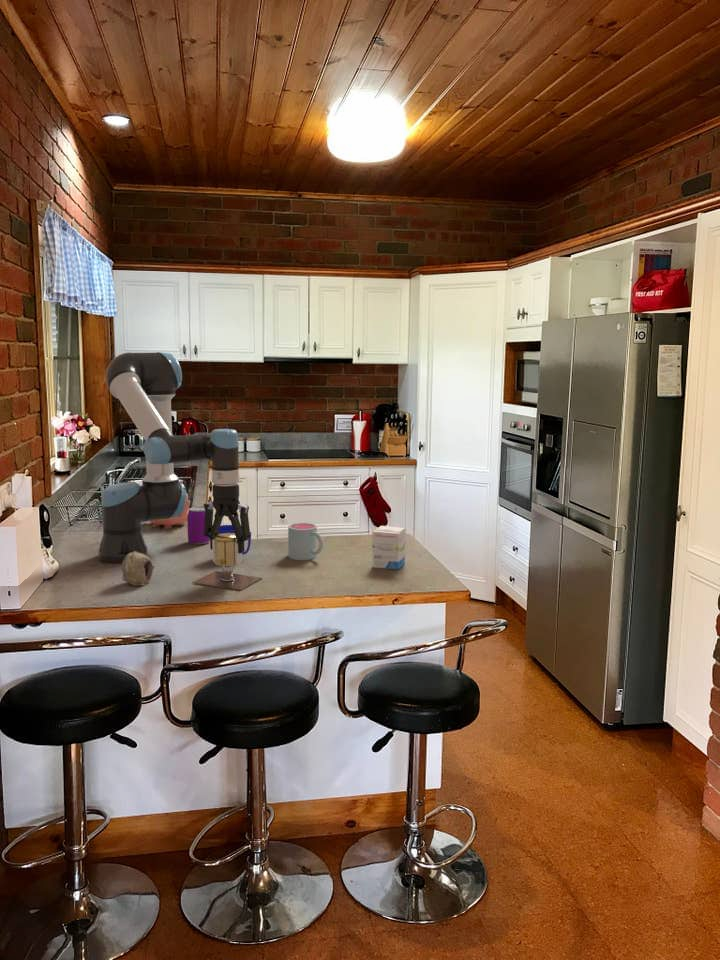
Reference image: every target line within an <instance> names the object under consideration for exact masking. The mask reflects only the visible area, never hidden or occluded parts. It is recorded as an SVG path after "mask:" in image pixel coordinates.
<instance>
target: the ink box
mask: <svg viewBox="0 0 720 960" xmlns="http://www.w3.org/2000/svg"><path fill="white" fill-rule="evenodd" d="M371 534H372V539H371V540H372V548H371V549H372V561H371V562H372V563H371V564H372V565H371V566H372V568H373V569H374V568H376V569H377V568H378V569H388V570H395V571H396V570H399V569H401V567H403V566H404V565H405V563H406V562H405V561H406V528H405V527H397V526H388V525H380V526H379V527H377V528H376V529H374V530H373V531H372V533H371Z"/></svg>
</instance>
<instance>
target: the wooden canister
mask: <svg viewBox="0 0 720 960" xmlns="http://www.w3.org/2000/svg"><path fill="white" fill-rule="evenodd" d="M236 541H237V539H236V536H235V534H234V533H223V534H218V535H215V539H214V545H215V562H214V564H215V565H216V566H220V567H222V566H236V565H235V542H236Z"/></svg>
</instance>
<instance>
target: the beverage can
mask: <svg viewBox="0 0 720 960" xmlns="http://www.w3.org/2000/svg"><path fill="white" fill-rule="evenodd" d="M186 522H187V542H189V543H190V545H194V546H195V545H196V546H199V545H201V544H203V545H206V544H205V543H207V544H209V543H210V538H209V537H207V536H206V537H205V536H204V522H205V508H204V506H194V507H189V512H188V515H187V521H186ZM201 546H202V545H201Z"/></svg>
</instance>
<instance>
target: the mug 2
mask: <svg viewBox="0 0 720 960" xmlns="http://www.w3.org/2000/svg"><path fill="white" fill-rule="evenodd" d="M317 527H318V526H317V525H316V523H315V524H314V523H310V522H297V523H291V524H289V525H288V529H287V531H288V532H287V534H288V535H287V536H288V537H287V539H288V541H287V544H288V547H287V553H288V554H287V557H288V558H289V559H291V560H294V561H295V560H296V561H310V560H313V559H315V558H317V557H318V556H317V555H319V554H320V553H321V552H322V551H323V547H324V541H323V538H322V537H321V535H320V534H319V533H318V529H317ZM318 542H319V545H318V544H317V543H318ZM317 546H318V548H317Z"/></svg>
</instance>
